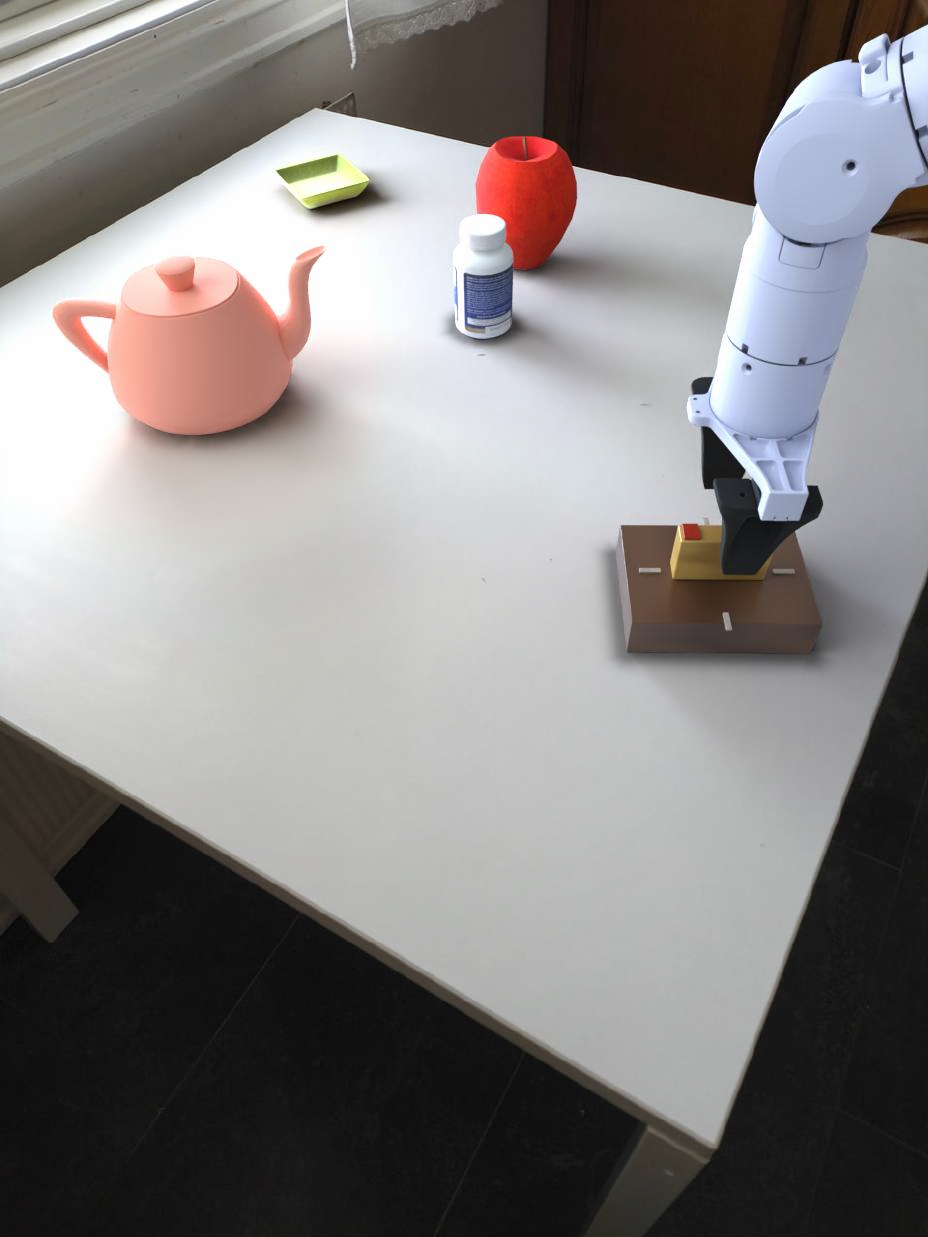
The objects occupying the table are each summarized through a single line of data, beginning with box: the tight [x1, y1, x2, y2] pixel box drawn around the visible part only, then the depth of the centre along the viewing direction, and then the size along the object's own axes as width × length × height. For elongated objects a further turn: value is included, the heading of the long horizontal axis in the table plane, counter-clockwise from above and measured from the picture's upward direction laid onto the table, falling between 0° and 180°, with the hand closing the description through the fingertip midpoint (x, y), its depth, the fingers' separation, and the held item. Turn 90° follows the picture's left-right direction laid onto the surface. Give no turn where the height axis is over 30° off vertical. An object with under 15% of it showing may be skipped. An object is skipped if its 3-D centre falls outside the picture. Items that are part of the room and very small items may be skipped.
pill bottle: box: [452, 214, 514, 340], centre depth 82 cm, size 5×5×10 cm
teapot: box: [52, 245, 327, 436], centre depth 74 cm, size 22×15×12 cm
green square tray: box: [272, 153, 371, 210], centre depth 104 cm, size 9×9×2 cm
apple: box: [474, 135, 578, 271], centre depth 88 cm, size 10×10×12 cm
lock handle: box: [670, 523, 773, 580], centre depth 58 cm, size 6×2×4 cm, turn 88°
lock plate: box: [615, 517, 824, 655], centre depth 61 cm, size 12×10×3 cm
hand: (728, 526), depth 57 cm, fingers open, 7 cm apart
